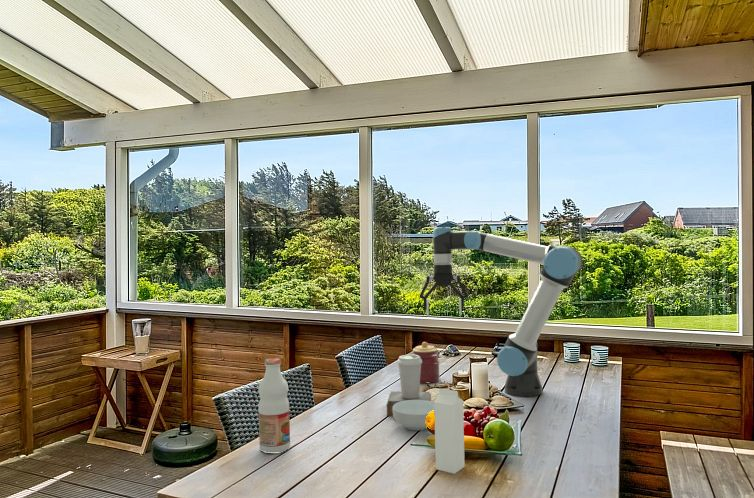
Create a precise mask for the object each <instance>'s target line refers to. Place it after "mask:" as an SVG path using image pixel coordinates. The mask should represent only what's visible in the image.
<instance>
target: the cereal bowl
mask: <svg viewBox="0 0 754 498" xmlns="http://www.w3.org/2000/svg"><path fill="white" fill-rule="evenodd" d="M392 409H393V416H392V417H393V418H394V420H395V422H397V423H398V424H399V425H401V426H403V427H405V428H406V429H408V430H411V431H424V430H427V429H426V424H425V419H426V416H427V415H428V413H429V412H430V411H432V410H434V401H433V400H431V401H426V400H406V401H401V402H398V403H396V404H394V405H393V408H392Z"/></svg>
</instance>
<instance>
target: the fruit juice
mask: <svg viewBox="0 0 754 498" xmlns="http://www.w3.org/2000/svg"><path fill="white" fill-rule="evenodd" d="M281 362H282V361H281V358H276V357H275V358H273V357H272V358H265V360H264V366H265V372H264V376H263V378H262V379H261V381H260V383H259V384H258V394H259V399H260V400H259V402H258V426H259V427H258V431H259V432H258V433H259V435H258V436H259V437H258V438H259V450H260V449H261V450H263V451H266V452H282V451H285V450H287V449H288V448H289V447H290V448H291V426H290V425H291V424H290V422H291V421H290V404H289V403H290V401H289V399H288V391H289V385H288V382H287V380H286V379H285V378H284V377H283V375H282V371H281ZM290 448H289V449H290ZM289 449H288V450H289ZM261 450H260V451H261ZM288 450H287V451H288ZM285 452H286V451H285ZM282 453H283V452H282Z"/></svg>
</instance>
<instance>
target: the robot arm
mask: <svg viewBox="0 0 754 498" xmlns="http://www.w3.org/2000/svg"><path fill="white" fill-rule="evenodd" d="M432 234H433V235H432V241H433V242H432V244H433V246H432V247H433V263H434V265H433V276H430V275H426V281H425V283H424V286H423V288H422V289H421V291H420V294H419V298H420V299H421V300H423V308H426V316H429V315H430V312H429V310H430V309H429V306H430V305H429V299H428V297H430V295H431V294H432V292H434V290H435V289H436V288H437V287H448V286H449V287H450V288H452V290H453V291H454V292H455V293H456V294H457V295H458V297H459V301H458V303H459V304H458V306H459V307H458V308H459V309H458V310H459V316H462V313H463V311H462V308H464V307H465V299H467V298H468V297H469V295H468V293H467V290H466V288H465V286H464V284H463V283H462V281H461V276H460V275H459V274H457V275H453V264H452V263H453V253H452V250H470V251H471V250H478V251H482V252H487V253H492V254H496V255H500V256H505V257H509V258H513V259H516V260H522V261H526V262H530V263H534V264H539V265H542V266H541V270H540V271H539V276H540V281H539V282H538V285H537V287H536V289H535V291H534V293H533V295H532V297H531V299H530V301H529V302H528V305H527V307H526V310H525V311H524V314H523V316H522V318H521V320H520V322H519V324H518V326H517V328H516V330H515V332H514V333H510V334H509V335H508V336H507V339H506V341H505V344H504V345H503V347H502V348H501V349H500V350H499V351H498V354H497V357H496V363H497V365H498V367H499V369H500V370H501V371H502V373H504V374H506V375H507V378H506V380H505V384H504V391H505V393H506V394H509V395H511V396H517V397H534V396H537V397H538V396H540V395H542V394H543V385H542V383H541V380H540V376H539V373H538V372H539V371H538V342H537V341H538V339H539V337H540V335H541V333H542V331H543V329H544V327H545V325H546V322H548V319H549V317H550V316H551V313H552V312H553V309H554V308H555V307H554V306H555V305H556V304H557V301H558V299H559V297H560V296H561V293H562V292H563V290H564V289H566V288H567V289H568V288H569V287H570V285H571V283H572V280H573V279H574V277H575V274H576V273H578V272H579V271H580V270H581V268H582V265H583V257H582V254H581V253H580V252H579V250H577V249H576V248H575V247H573V246H568V245H567V246H565V245H562V246H561V245H554V244H549V245H548V246H547V245H543V244H542V245H541V244H537V243H532V242H528V241H522V240H520V239H519V240H518V239H513V238H510V237H505V236H501V235H496V234H490V233H485V232H482V231H479V230H462V231H459V230H458V231H453V230H452V228H451V226H438V227H434V228H433V231H432ZM432 280H433V281H434V284H433V285H432V287H430V289H429V290H428V292H427V293H426V294H425V292H426V290H427V288H428V286H429V284H430V282H431V281H432ZM453 280H455V281H457V283H458V285H459V287H460V289H461V291H459V290H458V288H457V287H456V286H455V285H454V284H453V283H452V281H453ZM461 292H462V293H463V294H462V293H461ZM424 294H425V295H424Z"/></svg>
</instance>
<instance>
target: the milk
mask: <svg viewBox="0 0 754 498" xmlns="http://www.w3.org/2000/svg"><path fill="white" fill-rule="evenodd" d="M433 402H434V415H435V425H434V445H435V446H434V447H435V451H434V453H435V470H437V471H438V470H439V471H441V472H445V473H449V474H452V475H453V474H454V475H455V474H457V473H458V472H459V471H461V470H462V469H464V468H465V464H466V463H465V434H464V433H465V431H464V429H465V425H464V399H462V398H461V397H459V392H458V390H454V389H446V388H438V395H437V396H436V398H435V399H434V401H433Z"/></svg>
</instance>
